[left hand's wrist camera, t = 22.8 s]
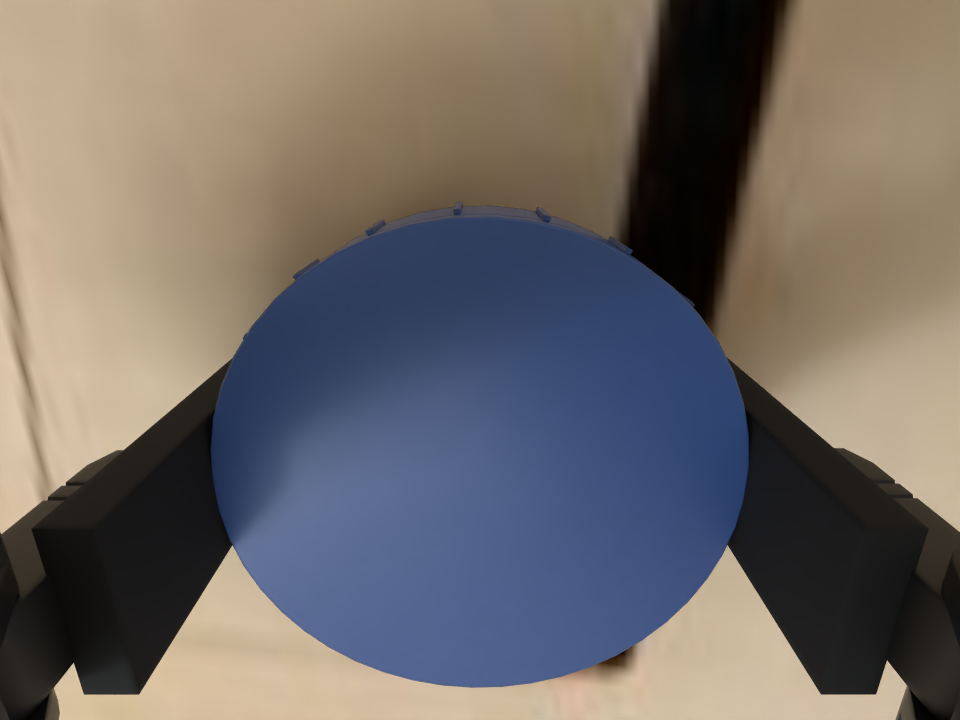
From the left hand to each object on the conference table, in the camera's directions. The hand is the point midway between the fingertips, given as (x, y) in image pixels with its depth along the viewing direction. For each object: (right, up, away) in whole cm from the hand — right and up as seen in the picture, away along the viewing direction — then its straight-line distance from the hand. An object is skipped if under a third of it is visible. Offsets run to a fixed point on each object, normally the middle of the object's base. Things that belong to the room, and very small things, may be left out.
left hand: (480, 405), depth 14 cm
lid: (0, -1, -3) cm, 3 cm away
